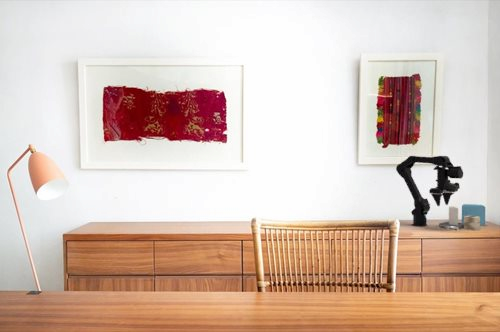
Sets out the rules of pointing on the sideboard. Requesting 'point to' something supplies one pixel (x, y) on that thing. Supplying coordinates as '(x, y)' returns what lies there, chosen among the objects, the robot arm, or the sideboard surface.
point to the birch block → (471, 222)
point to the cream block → (453, 215)
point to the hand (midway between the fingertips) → (442, 205)
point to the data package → (474, 212)
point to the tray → (460, 225)
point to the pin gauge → (448, 227)
